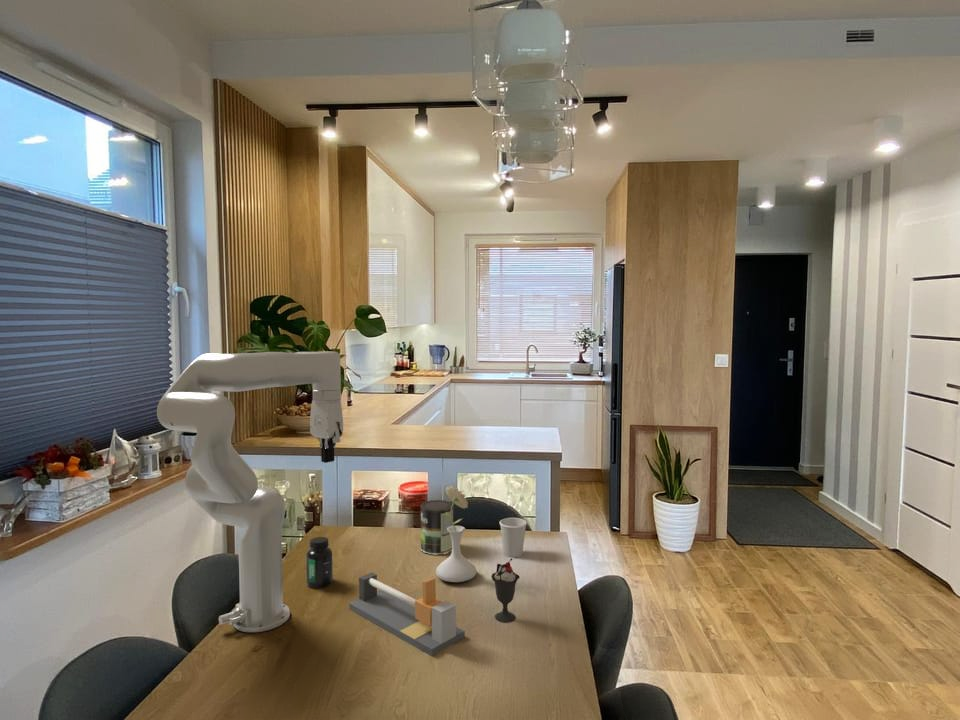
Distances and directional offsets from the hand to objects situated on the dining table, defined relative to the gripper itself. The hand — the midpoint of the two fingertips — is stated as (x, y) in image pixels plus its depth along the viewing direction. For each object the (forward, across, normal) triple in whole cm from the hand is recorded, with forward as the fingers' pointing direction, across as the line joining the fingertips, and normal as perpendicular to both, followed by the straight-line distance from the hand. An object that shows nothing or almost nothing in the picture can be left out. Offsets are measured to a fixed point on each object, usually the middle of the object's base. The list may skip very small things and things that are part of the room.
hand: (327, 461), depth 160 cm
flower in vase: (+32, +27, +23) cm, 48 cm away
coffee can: (+32, +9, +33) cm, 47 cm away
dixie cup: (+32, +29, +46) cm, 63 cm away
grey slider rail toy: (+32, +36, -3) cm, 48 cm away
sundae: (+32, +52, +15) cm, 63 cm away
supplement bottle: (+32, +3, -5) cm, 33 cm away
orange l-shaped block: (+28, +45, -3) cm, 53 cm away
